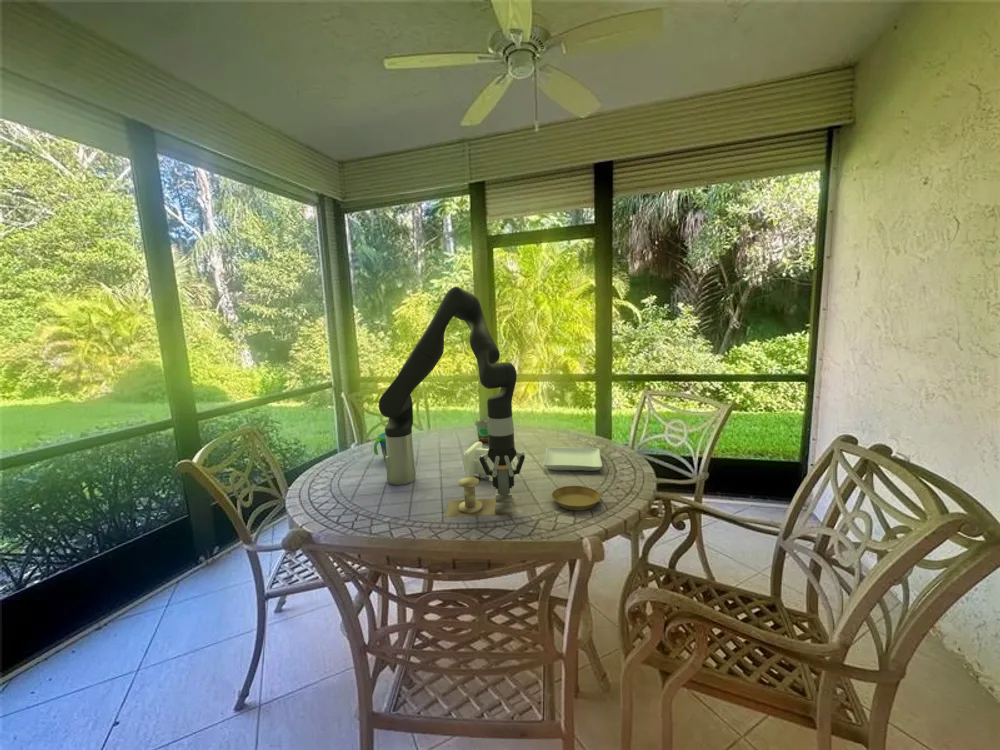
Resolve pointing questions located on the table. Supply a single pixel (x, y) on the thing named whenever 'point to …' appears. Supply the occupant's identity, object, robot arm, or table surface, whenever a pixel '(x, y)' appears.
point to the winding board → (485, 507)
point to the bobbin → (469, 496)
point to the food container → (482, 431)
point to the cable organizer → (476, 461)
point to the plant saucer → (576, 497)
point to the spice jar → (503, 480)
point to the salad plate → (572, 459)
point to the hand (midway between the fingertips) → (503, 487)
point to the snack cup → (383, 445)
